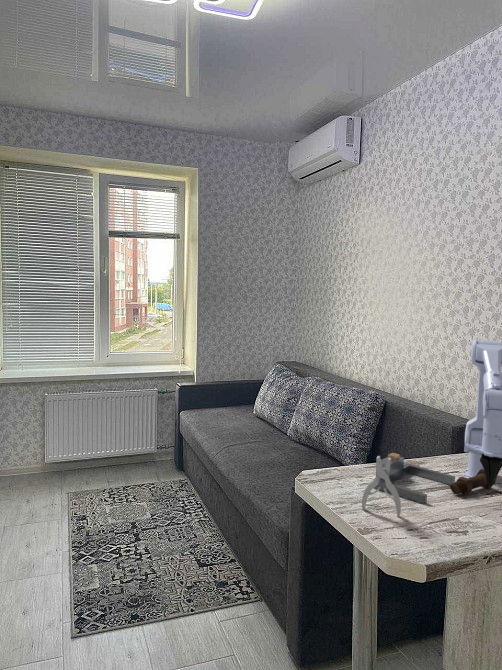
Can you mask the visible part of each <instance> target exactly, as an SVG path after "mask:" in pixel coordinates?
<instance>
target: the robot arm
mask: <svg viewBox="0 0 502 670" xmlns="http://www.w3.org/2000/svg"><path fill="white" fill-rule="evenodd" d="M470 351H471V355H470V356H471V358H470V361H471V364H472V365H474V366H477V369H478V377H477V378H478V380H477V395H476V396H477V397H476V410H475V411H476V412H475V413H476V414H475V417H473V418H471V419H469V420H468V421H467V422H466V424H465V425H466V426H465V431H464V450H463V451H464V453H468V456H467V457H468V458H467V470H466V471H465V472H464V473H462V477H465V478H470V477H474V476H476V475H477V473H478V472H479V470H480V469H484V471H485V474H486V479H487V484H489V485H493V486H494V485H495V484H496V481H497V477H498V476H499V472H500V471H501V469H502V371H501V370H502V369H501V367H502V340H486V339H485V340H484V339H476V338H475V339H474V340H473V341H472V342H471V350H470Z"/></svg>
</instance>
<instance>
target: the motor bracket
mask: <svg viewBox="0 0 502 670" xmlns="http://www.w3.org/2000/svg"><path fill="white" fill-rule="evenodd" d="M388 458H391V465H390V471H389V474H388V475H389V479H390V481H391V483H392V485H393V486H394V487H395V488H396V490H397V492H398V495H399V498H401V499H402V498H403V499H406V500H409V501H413V502H416V503H419V504H422V505H425V504H427V499H428V494H427V493H424V492H421V491H417V490H414V489H411V488H407V487H405V486H401V485H398V484H394V482H395V481H397V480H399V479H401V478H403V477H405V476H407V475H408V474H410V475H413V476H417V477H421V478H424V479H428V480H431V481H434V482H435V481H436V482H438V483H442V484H446V485H449V486H450V485H451V483H455V482H456V476H455V475H452V474H448V473H445V472H440V471H437V470H433V469H430V468H425V467H422V466H419V465H414V464H411V463H406V464H405V457H403V456H401V455H400V454H399V453H396V452H391V453H388V454H387V456H386V457H385V458H382V459H381V463H382V468H385V466H386V463H387V460H388ZM376 475H377V464H376V463H375V476H376ZM379 487H380V489H379V490H378V491H381V492H384V493H385V491H384V488H385V489H386V491H387V492H388V493H389V494H390V495H392V494H391V492H390V491H389V489H388V488H387V487H386V483H385V479H382V478H380V480H379V483H378V485H377V486H375V487H374V488H373V490H374V489H375V490H377V489H378V488H379Z"/></svg>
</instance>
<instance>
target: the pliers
mask: <svg viewBox="0 0 502 670" xmlns="http://www.w3.org/2000/svg"><path fill="white" fill-rule="evenodd" d="M381 460H382V459H381V456H380V455H377V457H376V462H375V465H376V464H377V475H376V474H375V477H374V479H373V480H372V481H371V482H370V483H368V485H367V486H366V488H365V489H364V492H363V494H362V499H361V510H362V511H365V510H366V506H367V501H368V499H369V496H371V495H372V496H373V495H375V494H376V493H378V491H380V490H379V489H380V487H379V488H378V489H375V491H372V490H374V487H375V486H377V485H378V483H379V480H380V478H382V479H385V483H386V487H387V488H388V489H389V491H390V492H391V494H390V493H388V492H387V491H386V489H385V488H384V491H385V492H384V493H385V494H386V496H388V497H389V499H391V500H393V501H394V505H395V509H396V510H395V511H396V517H397V518H400V517H401V511H402V510H401V509H402V505H401V499H400V498H401V497H399V495H398V492H397V490H396V488H395V487H394V486H393V485H392V484H393V482H392V483H391V481H390V479H389V475H388V474H389V471H390V465H391V458H388V460H387V463H386V466H385V468H382V463H381Z"/></svg>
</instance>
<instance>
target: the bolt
mask: <svg viewBox="0 0 502 670" xmlns="http://www.w3.org/2000/svg"><path fill="white" fill-rule="evenodd" d="M493 486H494V485H489V484H487V479H486V474H485V471H484V469H480V470H479V472H478V473H477V475H476V476H474V477H466V476H460V477H458V478H457V479H456V480H455V483H451V485H449V489H450V490H451V492H452V493H453V494H454V495H458V494H459V495H460V494H462V495H465V496H468V495H469V494H470V493H471V492H472V491H473V490H474V489H477V488H480V487H481V488H484V489H487V490H489V489H492V488H493Z"/></svg>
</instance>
